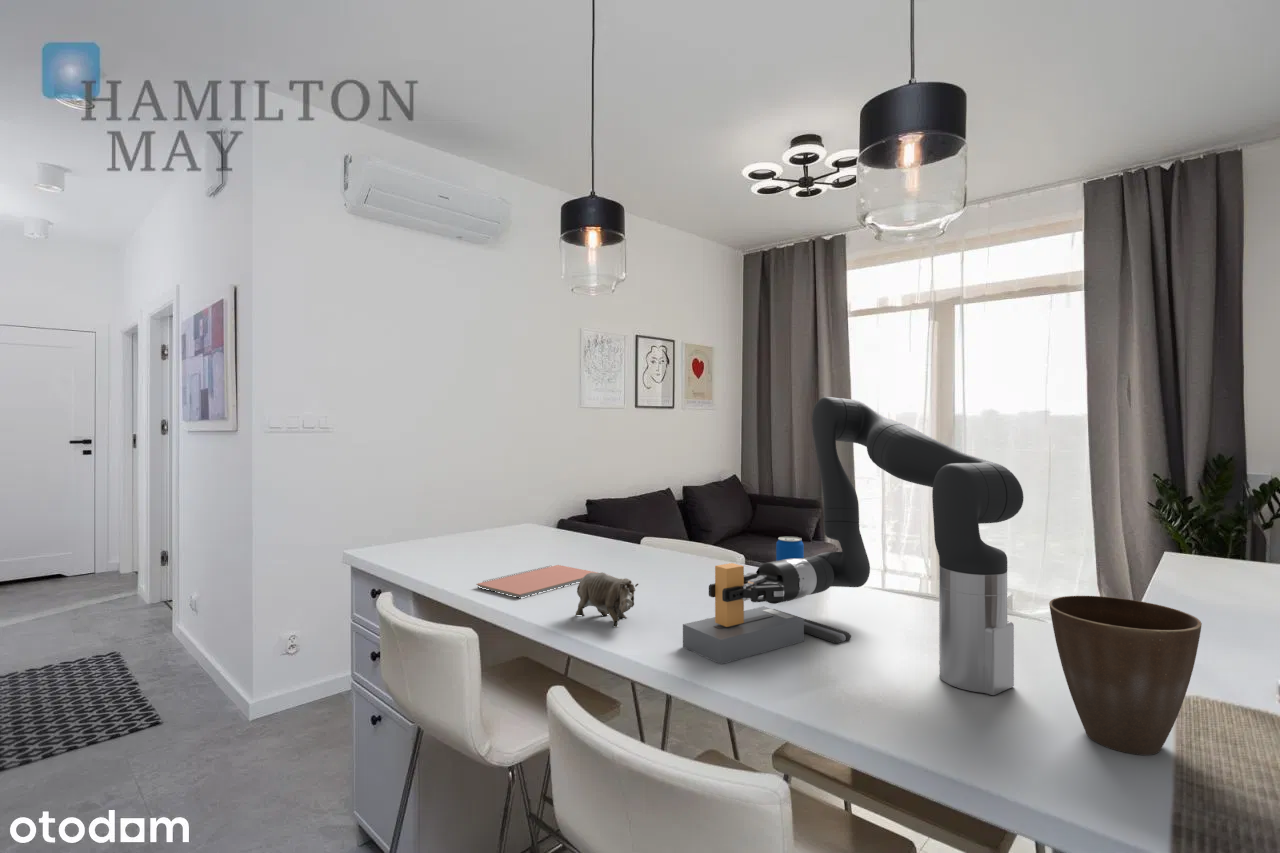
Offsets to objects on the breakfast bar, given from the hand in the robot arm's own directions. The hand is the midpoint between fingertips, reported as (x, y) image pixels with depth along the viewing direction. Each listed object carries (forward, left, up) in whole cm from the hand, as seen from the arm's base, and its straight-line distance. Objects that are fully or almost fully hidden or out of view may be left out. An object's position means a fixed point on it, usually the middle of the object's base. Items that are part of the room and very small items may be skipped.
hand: (717, 593), depth 110 cm
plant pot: (-52, -20, -10) cm, 57 cm away
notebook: (+62, +4, -11) cm, 63 cm away
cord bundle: (0, -19, -10) cm, 22 cm away
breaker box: (0, -6, -10) cm, 12 cm away
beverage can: (+23, -43, -10) cm, 50 cm away
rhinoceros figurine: (+25, +6, -10) cm, 28 cm away
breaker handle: (0, -3, -6) cm, 6 cm away
